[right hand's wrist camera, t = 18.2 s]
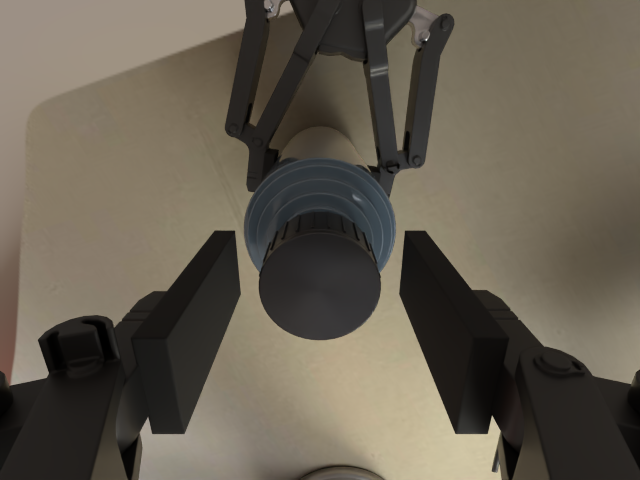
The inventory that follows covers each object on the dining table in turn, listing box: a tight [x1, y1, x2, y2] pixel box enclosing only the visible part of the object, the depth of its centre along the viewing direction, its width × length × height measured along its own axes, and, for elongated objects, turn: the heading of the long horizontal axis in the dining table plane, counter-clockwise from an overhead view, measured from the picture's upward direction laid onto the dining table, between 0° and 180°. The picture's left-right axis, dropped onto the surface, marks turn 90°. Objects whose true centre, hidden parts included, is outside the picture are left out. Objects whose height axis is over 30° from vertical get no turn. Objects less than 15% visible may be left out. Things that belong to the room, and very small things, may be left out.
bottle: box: [244, 126, 396, 273], centre depth 23 cm, size 7×7×23 cm
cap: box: [259, 211, 381, 340], centre depth 13 cm, size 4×4×2 cm
